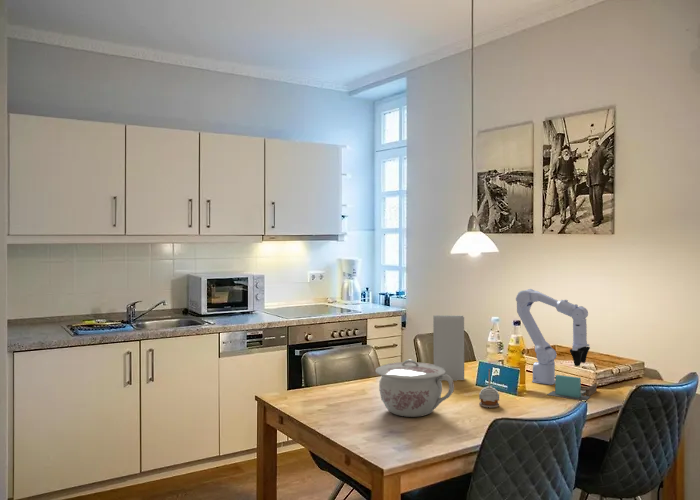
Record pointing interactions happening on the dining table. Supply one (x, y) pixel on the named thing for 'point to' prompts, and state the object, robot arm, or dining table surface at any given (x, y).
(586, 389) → the offcut rack
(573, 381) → the teal sheet
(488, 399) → the caramel apple
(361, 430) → the dining table surface
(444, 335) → the tall grey upright panel
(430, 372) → the chamber pot
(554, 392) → the slate mat
